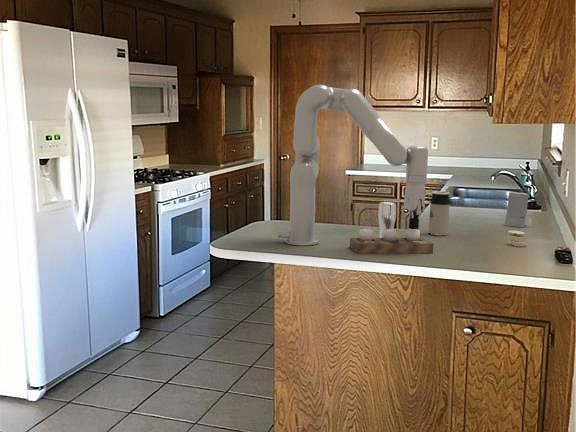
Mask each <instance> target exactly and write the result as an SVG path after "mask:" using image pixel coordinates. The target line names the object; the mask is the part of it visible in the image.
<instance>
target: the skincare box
mask: <svg viewBox="0 0 576 432" xmlns="http://www.w3.org/2000/svg"><path fill="white" fill-rule="evenodd" d="M529 195H530V194H529V193H524V192H515V191H510V192H508V200H507V208H506V209H507V210H506V217H505V224H504V225H505V226H506V227H515V228H524V227H525V226H526V220H527V219H526V217H527V212H528V210H527V209H528V203H529Z"/></svg>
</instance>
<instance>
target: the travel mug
mask: <svg viewBox="0 0 576 432" xmlns="http://www.w3.org/2000/svg"><path fill="white" fill-rule="evenodd" d="M431 195H432V196H431V199H430V203H429V204H430V205H429V219H428V220H429V221H428V234H429V233H432V234H439V235H445V236H448V234H449V224H450V223H449V220H450V203H451V201H450V198H449V196H450V192H448V191H435V190H434V191H431Z"/></svg>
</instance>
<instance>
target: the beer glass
mask: <svg viewBox="0 0 576 432" xmlns="http://www.w3.org/2000/svg"><path fill="white" fill-rule="evenodd" d="M378 204H379V205H378V212H377V213H378V214H377V216H378V227H379V234H378V238H383V230H384V229H393V230H394V227H395V223H396V219H397V202H391V201H381V202H378Z"/></svg>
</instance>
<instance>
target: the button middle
mask: <svg viewBox="0 0 576 432" xmlns="http://www.w3.org/2000/svg"><path fill="white" fill-rule="evenodd" d="M397 234H398V231H397V229H394V228H393V229H384V230H383V241H396V238H398V237H397V236H398V235H397Z"/></svg>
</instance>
